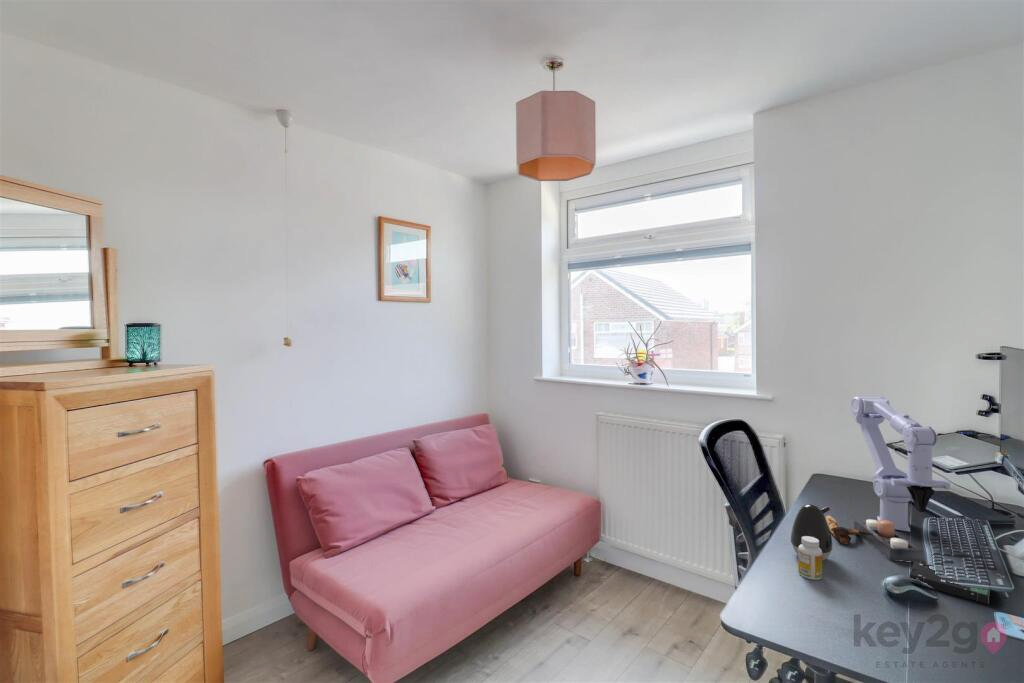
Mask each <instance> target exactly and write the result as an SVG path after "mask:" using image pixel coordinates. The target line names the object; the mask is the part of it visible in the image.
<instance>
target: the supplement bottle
mask: <svg viewBox="0 0 1024 683" xmlns="http://www.w3.org/2000/svg"><path fill="white" fill-rule="evenodd" d="M801 542H802V544H801V545H799V548H798V554H797V555H798V556H797V558H798V565H797V569H798V574H799V575H800V576H801V577H803V578H805V579H808V580H812V581H814V580H815V581H818V580H821V579H822V578H823V561H822V550H821V549H820V548H819V540H818V539H816V538H814V537H810V536H803V537H802V540H801Z"/></svg>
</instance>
